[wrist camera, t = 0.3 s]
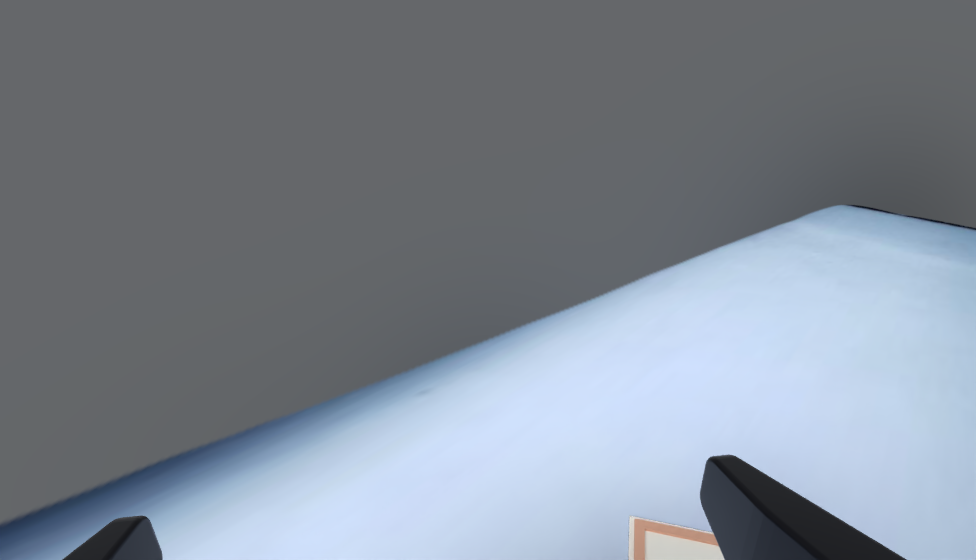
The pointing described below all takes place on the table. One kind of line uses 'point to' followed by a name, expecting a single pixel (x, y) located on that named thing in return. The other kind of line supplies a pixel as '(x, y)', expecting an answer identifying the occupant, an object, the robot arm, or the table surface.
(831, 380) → the table surface
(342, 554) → the table surface
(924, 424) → the table surface
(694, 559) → the marked card
